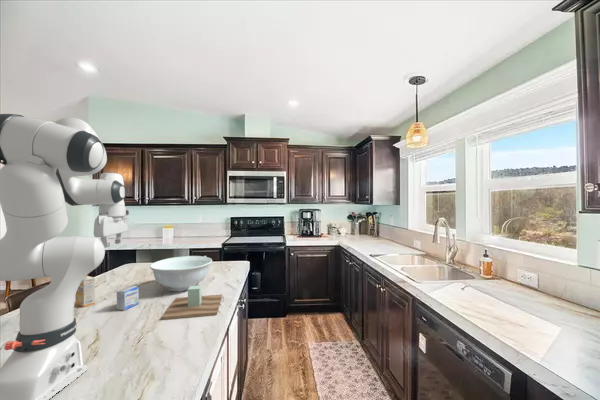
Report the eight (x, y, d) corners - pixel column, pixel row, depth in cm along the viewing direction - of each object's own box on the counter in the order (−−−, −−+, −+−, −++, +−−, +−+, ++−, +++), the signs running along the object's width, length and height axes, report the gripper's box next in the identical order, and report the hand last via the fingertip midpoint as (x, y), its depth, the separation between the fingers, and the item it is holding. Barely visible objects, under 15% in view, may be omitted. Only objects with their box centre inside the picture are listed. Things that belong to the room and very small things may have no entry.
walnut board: (216, 315, 112) (216, 312, 112) (161, 320, 108) (161, 317, 108) (222, 296, 134) (222, 294, 134) (176, 300, 129) (176, 297, 129)
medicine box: (124, 310, 117) (124, 291, 117) (116, 310, 118) (116, 291, 118) (138, 304, 125) (138, 286, 125) (131, 303, 126) (130, 285, 126)
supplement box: (74, 304, 125) (74, 277, 125) (86, 301, 129) (86, 274, 129) (83, 307, 121) (83, 279, 121) (95, 304, 125) (95, 276, 126)
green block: (199, 306, 119) (199, 288, 119) (187, 307, 118) (187, 289, 118) (201, 302, 124) (201, 285, 124) (190, 303, 123) (190, 286, 123)
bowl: (184, 300, 129) (184, 271, 129) (135, 293, 140) (135, 266, 140) (223, 281, 160) (223, 257, 160) (181, 276, 170) (181, 254, 170)
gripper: (107, 213, 99) (107, 249, 98) (131, 211, 119) (131, 241, 119) (88, 213, 97) (88, 250, 97) (115, 211, 117) (116, 242, 117)
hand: (112, 245), depth 108 cm, fingers open, 8 cm apart
